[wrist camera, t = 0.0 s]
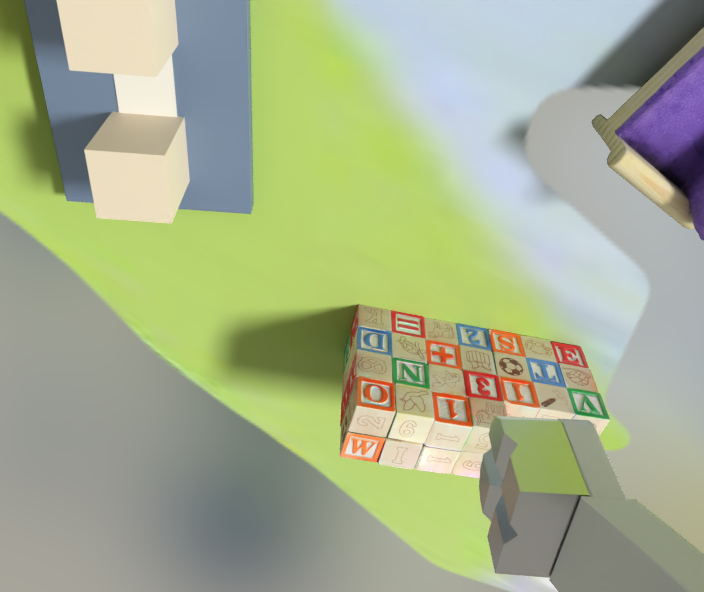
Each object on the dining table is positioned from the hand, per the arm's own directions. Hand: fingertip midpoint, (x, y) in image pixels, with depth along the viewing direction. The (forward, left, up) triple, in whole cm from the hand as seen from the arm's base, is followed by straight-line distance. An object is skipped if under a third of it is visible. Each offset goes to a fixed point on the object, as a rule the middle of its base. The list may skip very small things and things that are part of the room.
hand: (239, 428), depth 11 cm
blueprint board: (+9, -12, -39) cm, 42 cm away
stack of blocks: (+33, +14, -39) cm, 53 cm away
